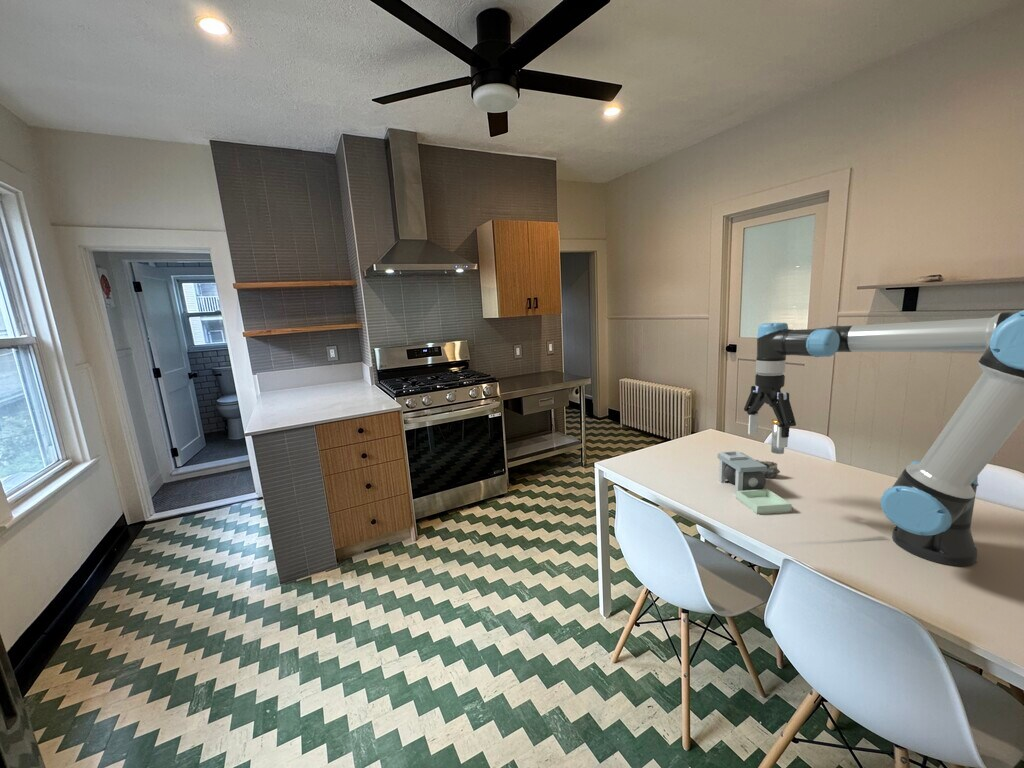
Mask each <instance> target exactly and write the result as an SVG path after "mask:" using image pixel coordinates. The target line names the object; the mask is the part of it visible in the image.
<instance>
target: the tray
mask: <svg viewBox="0 0 1024 768" xmlns="http://www.w3.org/2000/svg"><path fill="white" fill-rule="evenodd" d="M735 495H736V497H735V499H736V500H737V501H739V502H740V503H741V504H743V505H744V506H745V507H747V509H749V510H751V511H752V512H753V513H754V514H756V515H763V514H764V515H767V514H770V515H771V514H782V513H792V503H790V502H789V501H787V500H786V499H784V498H783V497H781V496H779V495H778V494H777V493H775V492H773V491H772V490H770V489H768V488H763V489H761V490H745V491H736V494H735Z"/></svg>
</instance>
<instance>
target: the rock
mask: <svg viewBox="0 0 1024 768" xmlns="http://www.w3.org/2000/svg"><path fill="white" fill-rule="evenodd" d="M755 460H756V461H758V462H760V463H762V464H764V465H765V466H767V471H761V472H762V473H763V474H764V475H765V478H768V479H769V478H770V479H771V478H774V477H777V476H778V475H779V474H780V473H781V471H780V469H778V463H777V462H774V461H767V460H758V459H755Z"/></svg>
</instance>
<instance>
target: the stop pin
mask: <svg viewBox="0 0 1024 768" xmlns="http://www.w3.org/2000/svg"><path fill="white" fill-rule="evenodd" d="M771 421H772V422H771V426H772V427H771V429H772V430H771V444H770V445H771V448H770V452H771V453H773V454H777V455H783V454H784V453H785V447H783V448H778V447H777V432H778V426H779V425H780V424H779V422H778V419H777V418H773V419H772V420H771ZM783 422H784V421H783Z"/></svg>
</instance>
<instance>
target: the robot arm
mask: <svg viewBox="0 0 1024 768" xmlns="http://www.w3.org/2000/svg"><path fill="white" fill-rule="evenodd" d="M756 336H757V337H756V360H755V372H756V374H755V377H754V381H755V382H754V385H751V387H750V393H749V394H748V395H749V396H748V398H747V400H746V403H745V406H744V408H743V411H744V412H746V413H747V415H748V416H747V417H748V425H747V426H748V429H747V431H748V432H747V434H748V435H758V434H759V433H758V431H759V411H760V410H761V408H763V406H764V405H765V404H767V405H769V407H770V408H771V409H772V411H773V413H774V415H775V416H776V419H778V422H779V424H780V425H779V426H778V432H777V447H778V448H783V447H784V448H788V445H789V444H788V443H789V441H788V440H789V437H790V427H795V426H796V425H797V422H796V420H795V419H796V418H795V416H794V412H793V408H792V406H791V405H792V404H791V402H790V393H789V392H782V391H781V389H782V388H783V387H785V380H786V379H785V378H786V375H784V374H785V372H786V360H787V356H802V357H815V358H823V357H825V358H826V357H827V358H829V357H832V356H834V355H835V354H836V353H854V352H856V353H857V352H858V353H860V352H861V353H862V352H863V353H865V352H867V353H869V352H871V353H872V352H873V353H875V352H876V353H877V352H879V353H880V352H883V353H884V352H893V353H894V352H895V353H896V352H897V353H898V352H984V353H983V355H982V356H981V357H980V358H979V360H978V362H977V364H978V366H979V367H980V369H981V371H982V374H981V375H980V376H979V378H978V379H977V380H976V382H975V383H974V385H973V386H972V388H971V389H970V390H969V392H968V393H967V395H966V396H965V398H964V399H962V400H963V401H962V402H961V403H960V405H959V406H958V408H957V409H956V410H955V412H954V413H953V415H952V416H951V417H950V419H948V421H947V423H946V424H945V426H944V427H943V429H942V431H941V432H940V433H939V435H938V436H937V437H936V439H935V441H934V442H933V443H932V444H931V446H930V447H929V448H928V450H927V452H926V453H925V455H923V458H922V459H921V460H913V461H911V462H910V463H909V464H907V465H906V467H905V468H904V469H903V471H902V472H901V474H900V475H899V477H898V478H897V479H896V481H895V482H894V484H893V485H892V486H891V487H889V488H887V489H886V490H884V491H883V494H882V496H881V498H880V507H881V510H882V511H883V513H884V515H885V517H886V518H887V519H888V520H889V521H890V522H891V523H892V524H893V525H895V526H894V528H893V529H892V534H891V539H892V541H893V543H895V544H896V545H897V546H898V547H899V548H900V549H903V550H904V551H905V552H908V553H910V554H913V555H915V556H917V557H919V558H922V559H925V560H929V561H931V562H935V563H938V564H939V563H940V564H943V565H944V564H945V565H949V566H950V565H951V566H960V567H962V566H963V567H966V566H971V565H972V566H973V565H974V564H976V563H977V562H978V561H977V560H978V556H979V554H978V553H979V552H978V550H977V547H976V546H975V543H974V542H975V541H974V538H973V533H972V530H971V527H972V526H971V525H972V520H973V515H974V514H973V513H974V508H975V507H974V506H975V501H976V500H975V499H976V494H977V488H978V486H979V483H978V482H979V480H978V478H979V477H978V476H979V475H980V474H981V472H982V471H983V470H984V469H985V467H987V465H988V464H989V462H990V461H991V460H992V459H993V457H994V456H995V455H996V454H997V452H999V450H1000V448H1002V446H1003V444H1005V442H1006V441H1007V440H1008V439H1009V437H1010V436H1011V435H1012V434H1013V432H1014V431H1015V430H1016V429H1017V427H1018V426H1019V425H1020V424H1021V422H1022V421H1023V420H1024V309H1023V310H1020V311H1008V312H999V313H996V315H994V316H992V317H983V318H980V317H979V318H963V319H949V320H948V319H946V320H945V319H944V320H928V321H927V320H926V321H911V322H910V321H909V322H895V323H893V322H892V323H875V324H874V323H872V324H857V325H856V324H854V325H830V326H827V327H826V326H825V327H818V328H810V329H809V328H808V329H807V328H806V329H805V328H804V329H803V328H801V329H790V328H789V325H788V323H787V322H767V323H761V324H760V325H759V326H758V327H757V335H756ZM783 421H784V422H783Z"/></svg>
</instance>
